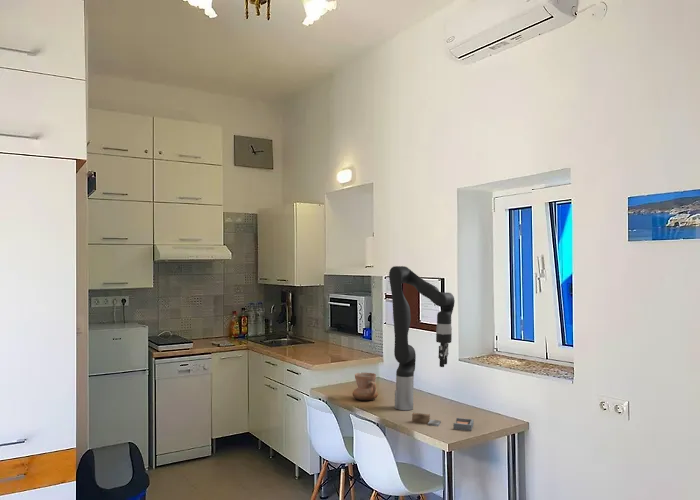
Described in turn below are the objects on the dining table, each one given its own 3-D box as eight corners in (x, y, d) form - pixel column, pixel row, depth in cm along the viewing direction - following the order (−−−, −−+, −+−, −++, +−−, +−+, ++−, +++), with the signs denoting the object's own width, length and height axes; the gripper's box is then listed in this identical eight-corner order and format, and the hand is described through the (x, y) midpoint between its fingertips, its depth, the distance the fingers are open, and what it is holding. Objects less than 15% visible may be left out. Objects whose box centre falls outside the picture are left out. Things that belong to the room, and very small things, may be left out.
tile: (456, 428, 255) (456, 424, 255) (457, 425, 260) (457, 421, 260) (467, 429, 253) (467, 425, 253) (468, 426, 258) (468, 422, 258)
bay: (453, 429, 252) (453, 423, 252) (456, 422, 263) (456, 417, 263) (471, 430, 250) (471, 425, 250) (473, 424, 260) (473, 419, 260)
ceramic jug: (346, 397, 312) (346, 372, 313) (367, 395, 320) (367, 370, 321) (363, 404, 297) (363, 378, 298) (385, 401, 305) (385, 375, 305)
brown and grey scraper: (411, 423, 260) (411, 415, 261) (414, 420, 267) (414, 411, 267) (438, 426, 256) (438, 417, 257) (440, 422, 263) (440, 414, 263)
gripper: (438, 331, 280) (438, 362, 279) (433, 333, 266) (433, 367, 266) (453, 331, 277) (453, 364, 277) (449, 334, 264) (448, 368, 263)
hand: (443, 365), depth 271 cm, fingers open, 8 cm apart
